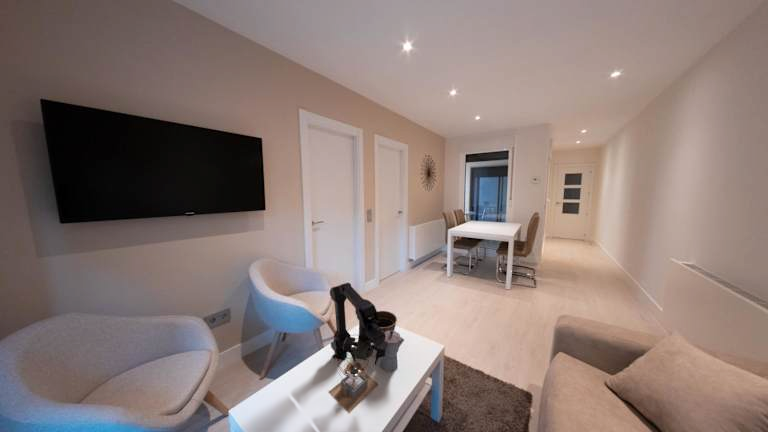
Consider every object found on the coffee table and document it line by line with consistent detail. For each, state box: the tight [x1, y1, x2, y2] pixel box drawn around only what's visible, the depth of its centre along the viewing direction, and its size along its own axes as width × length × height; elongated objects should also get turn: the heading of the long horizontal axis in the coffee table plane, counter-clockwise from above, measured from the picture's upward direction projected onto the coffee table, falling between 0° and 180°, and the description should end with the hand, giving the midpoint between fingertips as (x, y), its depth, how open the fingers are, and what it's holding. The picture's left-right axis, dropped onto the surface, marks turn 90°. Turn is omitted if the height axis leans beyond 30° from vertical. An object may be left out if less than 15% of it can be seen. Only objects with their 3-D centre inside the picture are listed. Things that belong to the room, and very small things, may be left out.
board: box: [328, 370, 380, 414], centre depth 104 cm, size 14×18×1 cm
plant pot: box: [370, 310, 398, 344], centre depth 132 cm, size 16×16×16 cm
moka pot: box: [380, 330, 405, 374], centre depth 116 cm, size 10×15×20 cm, turn 78°
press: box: [340, 373, 368, 400], centre depth 103 cm, size 8×10×4 cm
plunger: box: [345, 364, 364, 390], centre depth 103 cm, size 6×6×7 cm
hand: (365, 363), depth 103 cm, fingers open, 9 cm apart
